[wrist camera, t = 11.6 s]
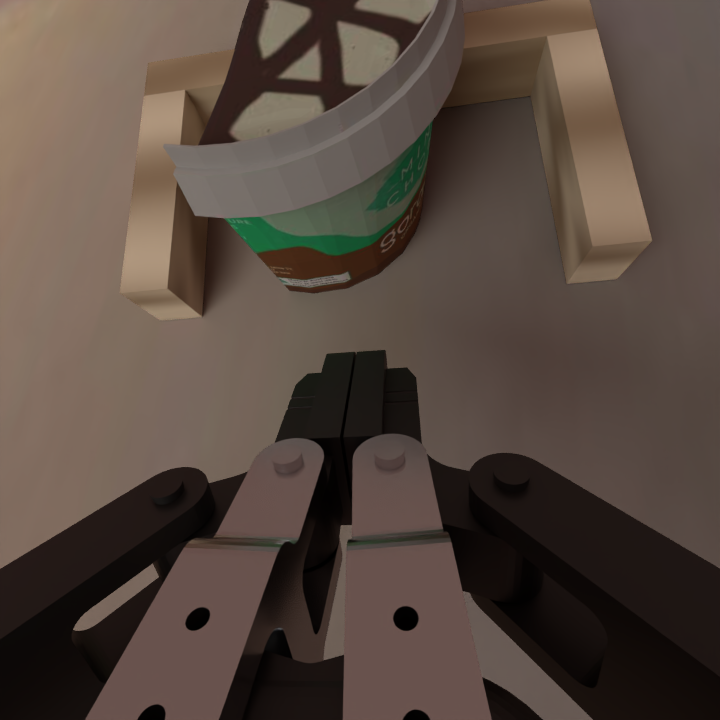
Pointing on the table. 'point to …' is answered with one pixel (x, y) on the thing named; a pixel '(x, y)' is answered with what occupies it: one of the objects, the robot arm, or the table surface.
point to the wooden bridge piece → (472, 85)
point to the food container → (325, 133)
